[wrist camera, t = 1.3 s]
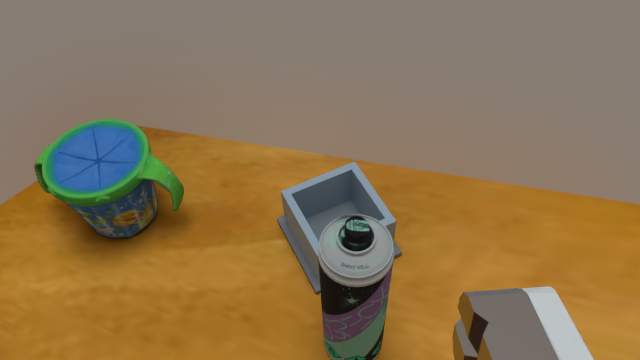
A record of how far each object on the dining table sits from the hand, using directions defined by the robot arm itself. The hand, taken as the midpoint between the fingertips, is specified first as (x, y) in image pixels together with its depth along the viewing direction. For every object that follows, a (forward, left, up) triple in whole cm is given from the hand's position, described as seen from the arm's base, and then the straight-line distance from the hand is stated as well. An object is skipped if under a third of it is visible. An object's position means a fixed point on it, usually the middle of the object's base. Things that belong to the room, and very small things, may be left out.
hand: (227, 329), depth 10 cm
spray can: (+10, +13, -42) cm, 46 cm away
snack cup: (-6, +38, -42) cm, 58 cm away
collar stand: (+14, +24, -42) cm, 51 cm away
